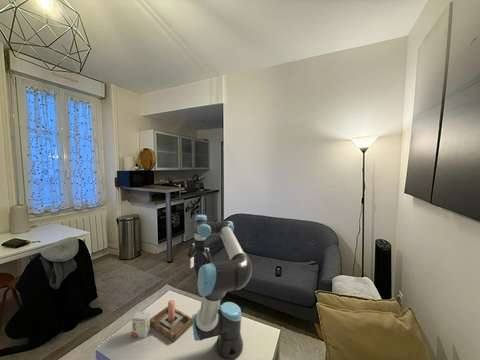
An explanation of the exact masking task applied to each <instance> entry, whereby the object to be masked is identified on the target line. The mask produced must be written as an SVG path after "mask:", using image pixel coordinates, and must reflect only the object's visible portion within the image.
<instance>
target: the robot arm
mask: <svg viewBox="0 0 480 360" xmlns="http://www.w3.org/2000/svg"><path fill="white" fill-rule="evenodd" d="M234 228H235V227H234V222H233V221H230V220H224V221H223V220H222V221H208V216H207V215H206V214H197V215H195V216H194V236H193V238H194V241H193V243H192V244H191V245H190V248H189V250H188V253H187V254H186V255H187V257H189V268H190V269H192V268H193V267H195V257H194V256H195V255H196V254H197V253H199V254H201V256H203V257H202V258H204V260H205V262H206V263H205V264H202V265H201V266H200V267H199V270H198V274H197V291H198V295H199V296H201V297H202V298H201V303H200V309H198V311H197V312H196V313H194V314H192V316H191V318H192V324H193V325H192V332H193V334H192V335H193V339H194V341H195V342H197V341H200V342H201V341H202V340H206V339H210V338H214V337H217V338H216V341H215V351H216V353H217V354H218V356H219V357H221V358H222V359H224V360H235V359H236V358H238V357H239V356H241V354H242V352H243V350H244V349H243V348H244V340H243V338H242V334H241V328H242V327H241V325H242V310H241V307H240V306H239V305H238V304H237V303H234V302H232V301H226V302H223V303H222V304H221V300H222V299H223V298H224V297H225V296H226V294H227V292H232V291H239V290H242V289H243V288H244V287H245V286H247V284H248V283H249V281H250V279H251V277H252V271H253V266H252V265H253V264H252V261H251V259H250V257H249V255H248V254H247V253H245V252H244V250H243V248H242V246H241V244H240V243H239V241H238V238H237V237H236V235H235V234H234V230H235V229H234ZM213 235H219V236H220V238H221V240H222V243H223V245H224V247H225V250H226V253H227V255H228V258H229V261H228V260H227V261H221V262H214V260H213V257H212V256H213V255H212V254H211V251H210V247H206V244H207V238H208V237H209V236H213ZM220 304H221V305H220Z"/></svg>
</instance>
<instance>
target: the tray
mask: <svg viewBox="0 0 480 360" xmlns="http://www.w3.org/2000/svg"><path fill="white" fill-rule="evenodd" d="M175 313H177V314H178V315H180V316H182V317H183V322H182V323H181V324H180V325H179V326H178V327H176V328H175V329H174V330H173V331H170V330H169V329H167V328H165V327H164V326H162V325H161V324H159V321H160V320H161V319H162V318H164V317H165V316H166V315H168V305H167V306H166V307H165V308H163V309H162V310H160V311H158V312H157V314H155V315H154V316H152V317H150V327H151V328H153V329H154V330H155V331H157V332H158V333H160V334H161V335H162V336H164V337H166V338H167V339H169V340H170V341H172V342H173V343H175V342H176V341H177V340H178V339H180V338H181V336H183V335H184V334H185V333H186V332H187V330H189V329H190V328H191V327H193V324H192V316H188V315H187V314H186V313H184V312H183V311H180V310H178V309H176V308H175Z"/></svg>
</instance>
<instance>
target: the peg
mask: <svg viewBox="0 0 480 360" xmlns="http://www.w3.org/2000/svg"><path fill="white" fill-rule="evenodd" d="M167 306H168V322H169V323H170V324H171V323H173V322H174V321H175V309H176V301H175V300H174V299H170V300H169V301H168V302H167Z"/></svg>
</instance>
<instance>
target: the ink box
mask: <svg viewBox="0 0 480 360" xmlns="http://www.w3.org/2000/svg"><path fill="white" fill-rule="evenodd" d="M150 319H151V316H150V312H145V311H136V312H135V313H134V314H133V316H132V317H131V338H147V336H148V334H149V332H150V327H151V326H150Z"/></svg>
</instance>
